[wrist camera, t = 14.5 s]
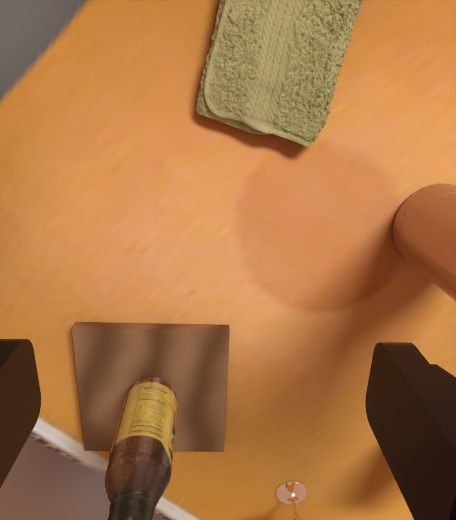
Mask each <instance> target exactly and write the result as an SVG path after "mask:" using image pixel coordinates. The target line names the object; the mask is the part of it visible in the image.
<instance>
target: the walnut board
mask: <svg viewBox="0 0 456 520" xmlns="http://www.w3.org/2000/svg"><path fill="white" fill-rule="evenodd" d="M72 337H73V346H74V356H75V365H76V374H77V384H78V393H79V402H80V412H81V421H82V430H83V440H84V449H85V451H111V448H112V444H113V441H114V437H115V433H116V430H117V426H118V422H119V418H120V415H121V411H122V408H123V404H124V401H125V398H126V396H127V394H128V391H129V388H130V387H131V386H132V385H133V384H134V383H135V382H137V381H138V380H140V379H142V378H144V377H156V378H160V379H163V380H165V381H167V382H168V383H169V384H170V385H171V387H172V388H173V389H174V391H175V393H176V396H177V399H176V400H177V414H176V425H175V436H174V447H173V451H217V452H224V440H225V418H226V397H227V375H228V353H229V325H200V324H149V323H97V322H75V324H74V326H73V327H72Z"/></svg>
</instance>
